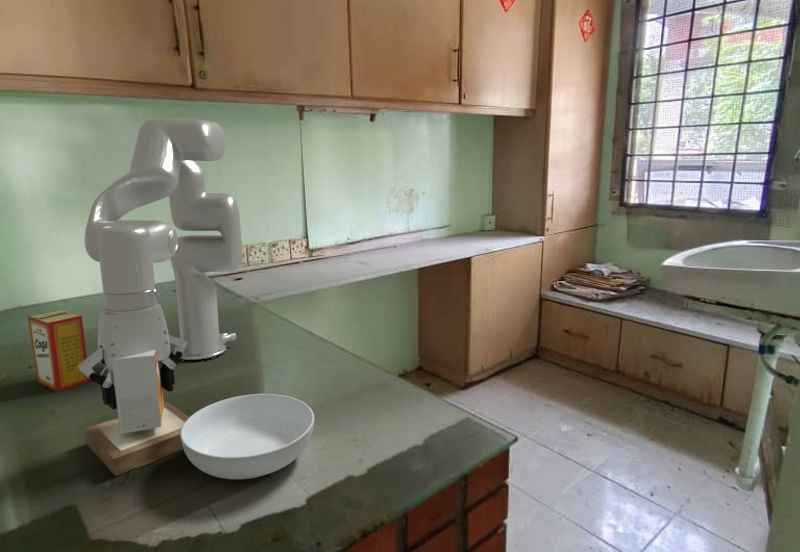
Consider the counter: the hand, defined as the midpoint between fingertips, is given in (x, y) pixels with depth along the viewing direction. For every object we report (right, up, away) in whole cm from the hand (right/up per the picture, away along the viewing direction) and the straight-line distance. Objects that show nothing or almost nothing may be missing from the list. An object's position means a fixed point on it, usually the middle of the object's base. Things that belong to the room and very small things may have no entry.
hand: (140, 397), depth 82 cm
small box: (0, -4, +1) cm, 5 cm away
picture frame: (0, -8, +1) cm, 8 cm away
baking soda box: (-32, -3, +27) cm, 42 cm away
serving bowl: (+20, -10, -3) cm, 23 cm away
